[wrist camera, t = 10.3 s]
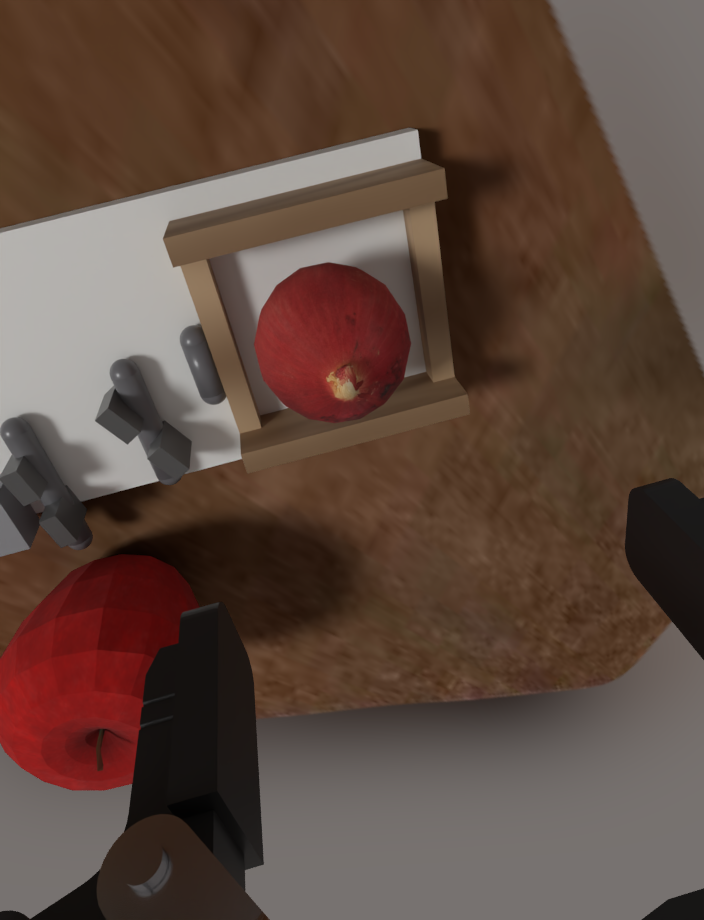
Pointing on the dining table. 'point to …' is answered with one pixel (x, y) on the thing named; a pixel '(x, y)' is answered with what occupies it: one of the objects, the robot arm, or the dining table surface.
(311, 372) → the onion
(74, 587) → the apple
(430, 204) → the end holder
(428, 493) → the dining table surface
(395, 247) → the board
